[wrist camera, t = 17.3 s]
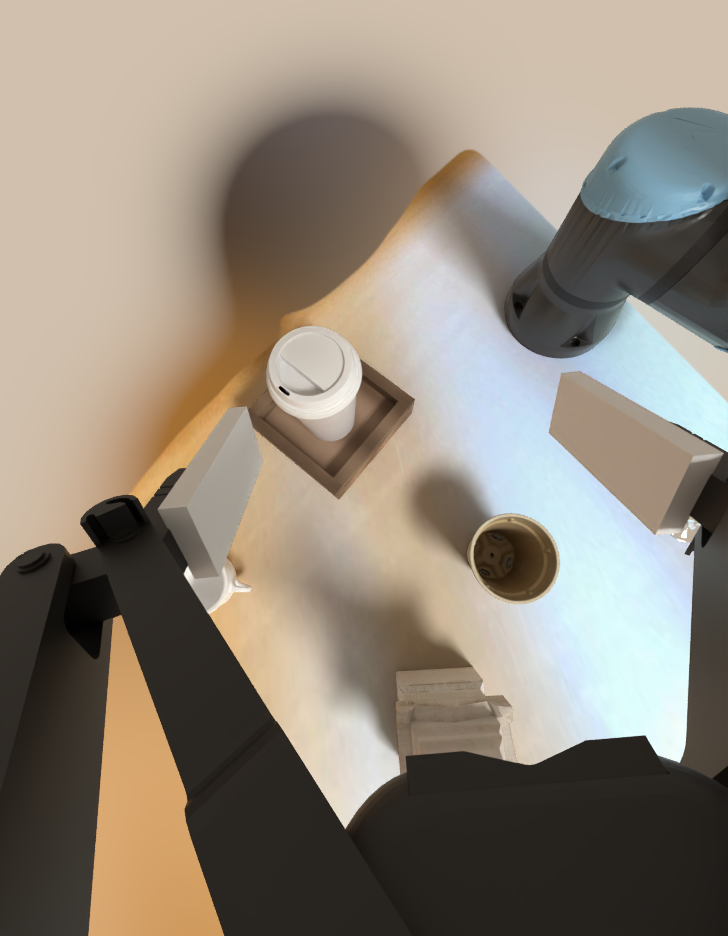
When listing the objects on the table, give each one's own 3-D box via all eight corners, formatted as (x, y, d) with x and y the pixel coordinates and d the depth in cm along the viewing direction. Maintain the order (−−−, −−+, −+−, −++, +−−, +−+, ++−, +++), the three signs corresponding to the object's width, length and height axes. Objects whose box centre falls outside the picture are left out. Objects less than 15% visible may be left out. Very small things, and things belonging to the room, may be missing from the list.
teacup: (179, 604, 47) (154, 612, 41) (193, 545, 48) (170, 545, 43) (253, 616, 46) (237, 626, 41) (265, 556, 47) (250, 558, 42)
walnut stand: (327, 350, 53) (321, 330, 48) (411, 413, 51) (414, 399, 46) (254, 429, 51) (241, 417, 46) (339, 499, 48) (334, 494, 44)
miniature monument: (391, 667, 44) (417, 918, 15) (475, 662, 44) (675, 907, 14) (398, 764, 42) (446, 1288, 12) (487, 759, 41) (752, 1283, 12)
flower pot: (455, 593, 45) (473, 604, 37) (451, 519, 47) (467, 514, 39) (530, 592, 45) (565, 604, 37) (522, 518, 47) (554, 512, 39)
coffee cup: (284, 404, 48) (243, 344, 34) (346, 374, 49) (333, 302, 34) (314, 464, 47) (284, 429, 32) (378, 432, 47) (379, 382, 32)
